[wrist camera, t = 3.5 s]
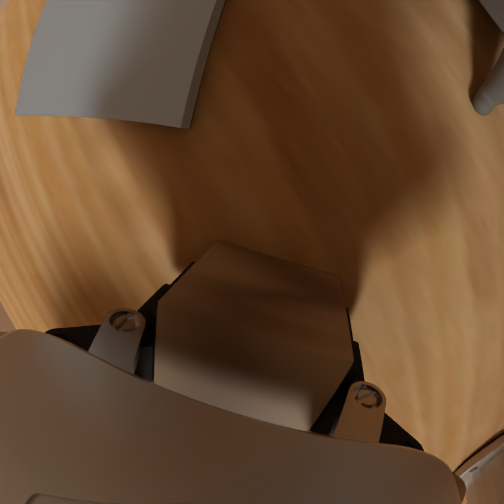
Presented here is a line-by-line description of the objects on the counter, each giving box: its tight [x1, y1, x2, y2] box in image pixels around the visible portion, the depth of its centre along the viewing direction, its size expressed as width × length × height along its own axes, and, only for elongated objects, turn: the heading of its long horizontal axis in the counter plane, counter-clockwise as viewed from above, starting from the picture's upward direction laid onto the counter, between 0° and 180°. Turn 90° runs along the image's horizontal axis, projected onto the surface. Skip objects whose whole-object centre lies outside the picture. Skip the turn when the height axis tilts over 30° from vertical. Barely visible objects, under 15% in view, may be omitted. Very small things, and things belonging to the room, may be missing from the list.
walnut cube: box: [154, 240, 354, 431], centre depth 10 cm, size 5×5×5 cm
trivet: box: [15, 0, 225, 129], centre depth 8 cm, size 11×11×1 cm
